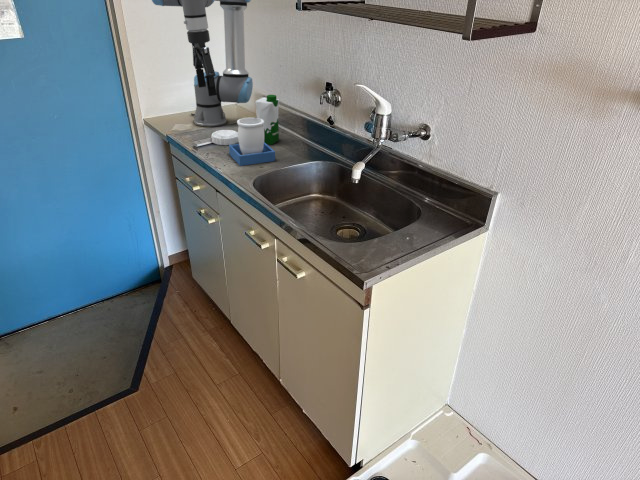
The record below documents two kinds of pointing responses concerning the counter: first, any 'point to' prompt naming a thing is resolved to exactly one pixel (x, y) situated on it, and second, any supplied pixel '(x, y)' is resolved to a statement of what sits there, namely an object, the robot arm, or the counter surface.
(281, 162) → the counter surface
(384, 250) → the counter surface
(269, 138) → the milk carton
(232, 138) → the mooncake
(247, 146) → the jar
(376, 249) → the counter surface
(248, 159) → the blue crate
